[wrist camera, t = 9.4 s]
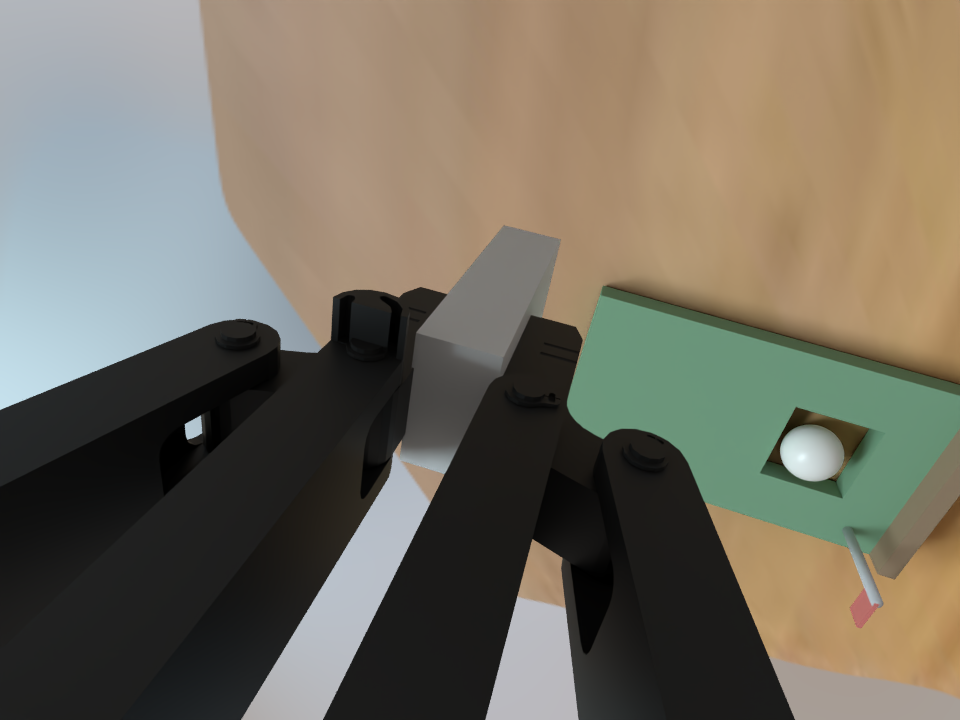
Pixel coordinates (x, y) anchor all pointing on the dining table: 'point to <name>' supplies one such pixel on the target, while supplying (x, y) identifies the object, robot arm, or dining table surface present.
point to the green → (777, 425)
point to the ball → (812, 452)
